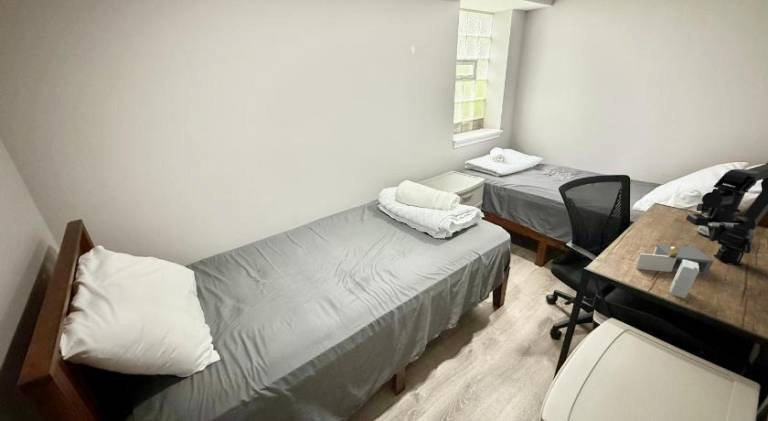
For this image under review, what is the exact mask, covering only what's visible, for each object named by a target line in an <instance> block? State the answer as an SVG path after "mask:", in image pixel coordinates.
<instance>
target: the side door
mask: <svg viewBox="0 0 768 421" xmlns="http://www.w3.org/2000/svg"><path fill="white" fill-rule="evenodd" d="M670 246H671V249H670V251H669V254H668V256H666V255H655V254H653V253H643V252H640V253H639V255H638V258H637V261H636V264H635V269H639V270H646V271H647V270H648V271H649V270H650V271H658V272H665V273H666V272H667V273H671V272H673V271H672V269H673V266H674V264H675V261H676V259H677V257H676V256H677V254H678V251H679V249H680V248H678V247H676V246H677V245H670Z"/></svg>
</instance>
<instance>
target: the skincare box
mask: <svg viewBox="0 0 768 421" xmlns="http://www.w3.org/2000/svg"><path fill="white" fill-rule="evenodd" d="M698 272H699V265H698V263H696V262H692V261H688V260H684V259H683V260H682V263H681V265H680V267H679V269H678V271H677V272H675V273H676V274H675V275H674V278H673V280H672V282H671V283H670V287H669V294H670V295H671V296H672V295H673V296H676V297H679V298H682V299H686V298H687V296H688V294H689V291H690V290H691V288H692V286H693V284H694V282H695V281H696V279H697V276H698V275H699V274H698Z"/></svg>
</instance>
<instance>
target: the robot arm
mask: <svg viewBox="0 0 768 421" xmlns="http://www.w3.org/2000/svg"><path fill="white" fill-rule="evenodd" d="M758 181H761V182H760V186H761V191H760V193H759V194H758V195H757V196H756V197H755V199H754V200H753V201H752V203H751V204H750V206H749V207H748V208H747V209H746V211H745V212H744V213H743V215H742V216H735V215H736V214H737V213H740V212H742V210H741V209H740V205H741V203H742V201H743V199H744V197H745V194H747V193H749V191H750V190H751V189H752V187H754V186H755V185H756V184H757V183H758ZM701 202H702V203H698V204H697V206H696V211H697V212H700V213H689V214H687V216H686V217H685V220H686V221H687V222H689V223H691V224H692V225H693V226H694V225H695V226H706V225H707V227H708V230H709V238H708V239H709V241H710V242H715V241H717V244H718V245H721V246H720V248H718V250H717V253H716V254H713V257H714V258H716V259H718V260H719V261H720V262H722V263H723V264H729V265H739V266H744V263H742V262H741V261H742V259H743V257H744V255H745V254H750V253H751V252H752V251H753V249H754V248H755V246H754V245H755V244H754V243H753V239H754V238H755V234H754V233H755V232H754V230H756V227H757V226H758V223H759V222H760V221H761V220H762V218H763V217H764V216H765V215H766V214H767V212H768V162H766V163H765V164H762V165H757V166H755V167H751V168H747V169H744V168H736V169H735V168H733V169H730V170H728V171H726V172H725V173H724V174H723V175H722V176H721V177H720V178H719V179H718V181H717V182H716V183H714V185H713V189H712V191H710V192H709V191H708V192H707V193H705V194H704V195H702V198H701ZM704 214H706V216H705V215H704ZM707 216H710V217H711V218H707ZM718 238H719V239H718Z"/></svg>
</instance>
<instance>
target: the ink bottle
mask: <svg viewBox="0 0 768 421" xmlns="http://www.w3.org/2000/svg"><path fill="white" fill-rule="evenodd" d="M706 217H707V218H711V217H710V216H707V215H706ZM697 233H698V234H699V235H701V236H702V237H705V238H708V239H709V230H708V227H707V225H706V226H699V227H698V229H697ZM718 239H719V238H718ZM718 239H717V240H718Z"/></svg>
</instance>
